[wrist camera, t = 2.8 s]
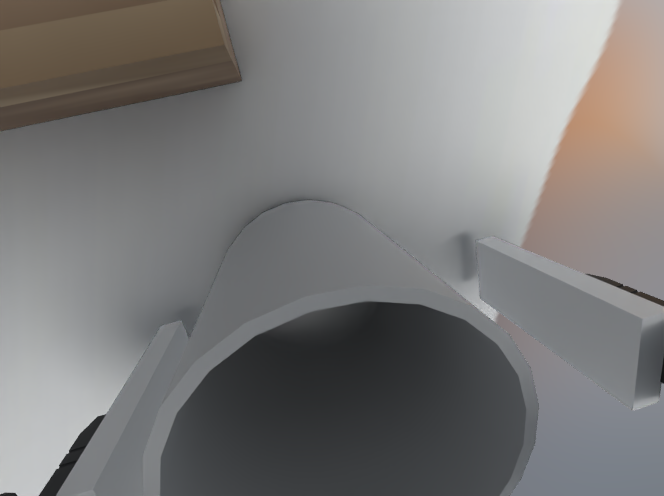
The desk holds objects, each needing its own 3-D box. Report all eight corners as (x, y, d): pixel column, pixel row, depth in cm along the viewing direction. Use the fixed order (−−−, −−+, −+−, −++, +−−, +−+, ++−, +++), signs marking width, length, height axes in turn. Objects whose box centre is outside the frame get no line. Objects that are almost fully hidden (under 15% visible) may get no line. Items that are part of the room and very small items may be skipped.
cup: (273, 162, 13) (274, 197, 4) (463, 273, 16) (685, 422, 7) (191, 315, 14) (69, 571, 6) (382, 391, 17) (491, 636, 8)
